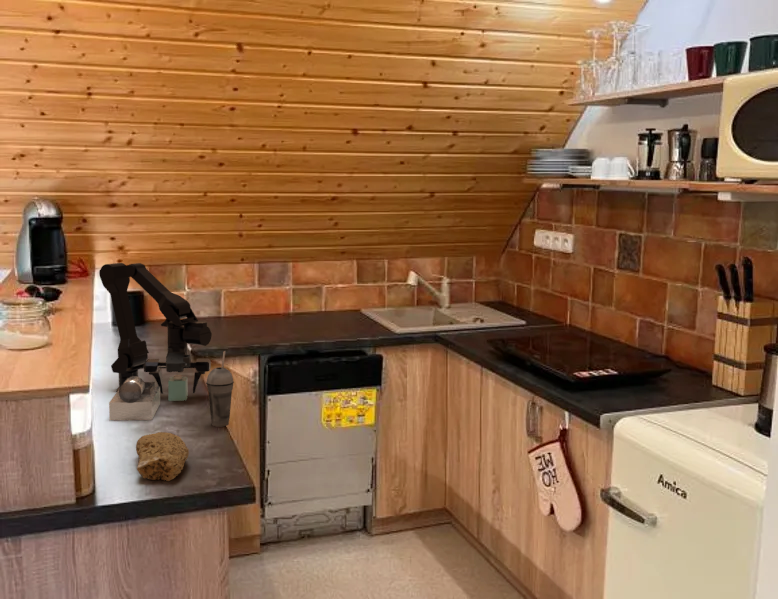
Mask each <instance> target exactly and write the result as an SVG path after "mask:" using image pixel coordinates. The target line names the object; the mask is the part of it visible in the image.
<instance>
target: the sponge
mask: <svg viewBox="0 0 778 599" xmlns="http://www.w3.org/2000/svg"><path fill="white" fill-rule="evenodd" d="M189 450H190V449H189V448H188V446H186V443H185V441H183V439H182V438H181V437H180V436H178V435H176V434H174V433H171V432H166V431H165V432H163V431H161V432H156V433H151V434H150V433H149V434H145V435H142V436H141V437H140V438H139V439H137V440H136V444H135V451H136V454H137V456H138V458H139V461H138V463H137V464H138V465H137V467H136V471H137V472H138V473H139V475H140V476H142V478H143V479H148V480H153V481H155V480H157V481H159V480H161V481H162V480H163V481H165V480H166V481H165V482H170V481H172V480H174V479H175V478H176V477H177V476H179V474H181V472H182V471H183V470H184V466H185V462H186V461H187V459H188V458H189V454H190V452H189Z"/></svg>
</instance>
